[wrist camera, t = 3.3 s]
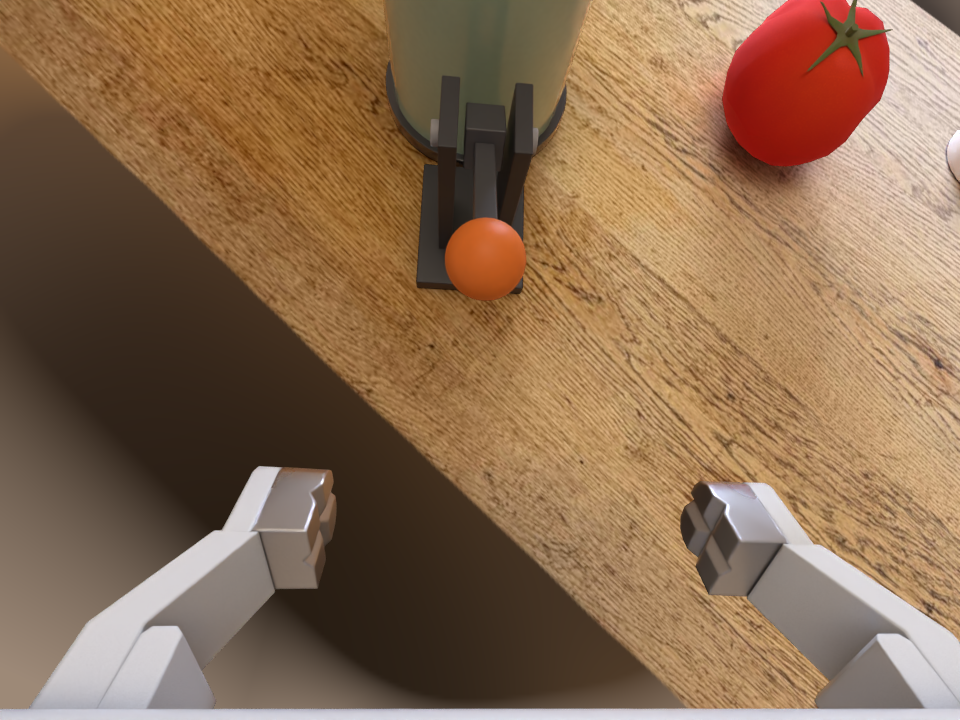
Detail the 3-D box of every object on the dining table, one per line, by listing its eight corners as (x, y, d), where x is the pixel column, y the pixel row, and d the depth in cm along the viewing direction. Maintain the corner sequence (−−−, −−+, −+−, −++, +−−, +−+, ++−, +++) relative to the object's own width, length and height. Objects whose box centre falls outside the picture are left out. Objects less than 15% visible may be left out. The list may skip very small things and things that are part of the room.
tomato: (801, 70, 43) (908, -47, 34) (828, 191, 41) (954, 103, 31) (687, 65, 42) (763, -57, 33) (707, 189, 40) (796, 97, 30)
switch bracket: (520, 294, 36) (562, 204, 24) (417, 287, 36) (404, 192, 23) (521, 180, 38) (560, 43, 26) (424, 172, 38) (416, 29, 25)
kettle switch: (521, 319, 21) (536, 260, 18) (442, 314, 21) (444, 254, 18) (509, 155, 29) (519, 95, 26) (451, 150, 28) (454, 89, 25)
